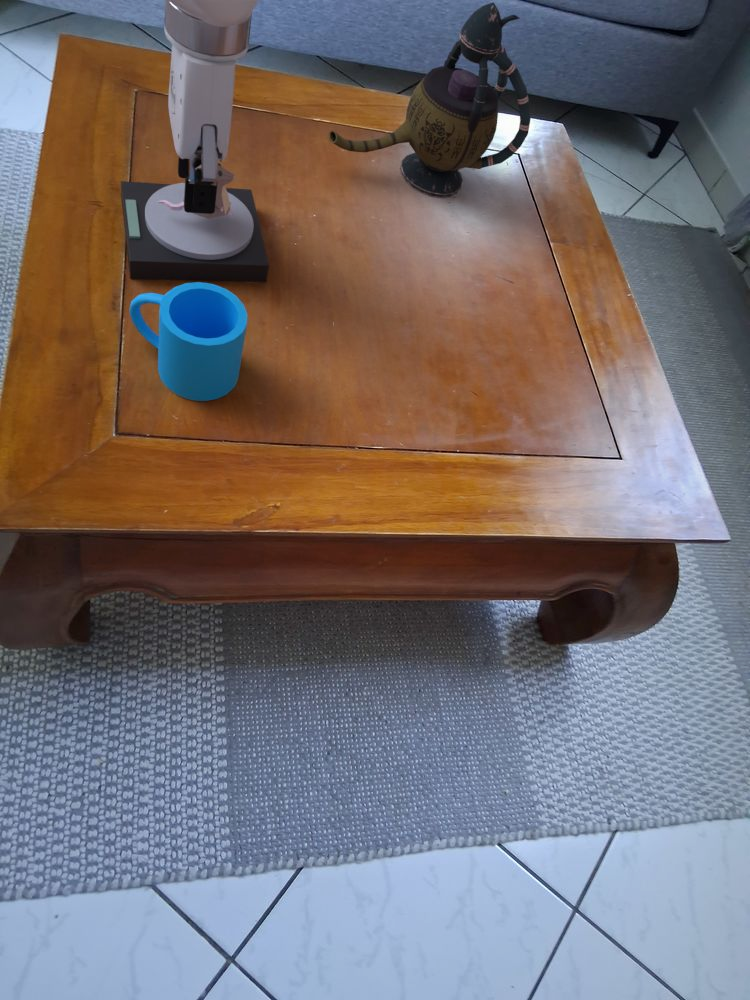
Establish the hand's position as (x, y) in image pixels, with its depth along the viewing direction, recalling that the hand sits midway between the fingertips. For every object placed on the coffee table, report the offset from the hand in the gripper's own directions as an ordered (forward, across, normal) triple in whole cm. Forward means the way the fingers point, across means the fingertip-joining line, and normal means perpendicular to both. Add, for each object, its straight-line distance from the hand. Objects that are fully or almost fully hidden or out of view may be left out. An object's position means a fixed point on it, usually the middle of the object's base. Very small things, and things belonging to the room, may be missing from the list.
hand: (196, 192), depth 83 cm
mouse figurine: (+2, 0, 0) cm, 2 cm away
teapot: (+7, -15, +31) cm, 35 cm away
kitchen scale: (+7, 0, 0) cm, 7 cm away
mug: (+7, +18, -3) cm, 20 cm away
